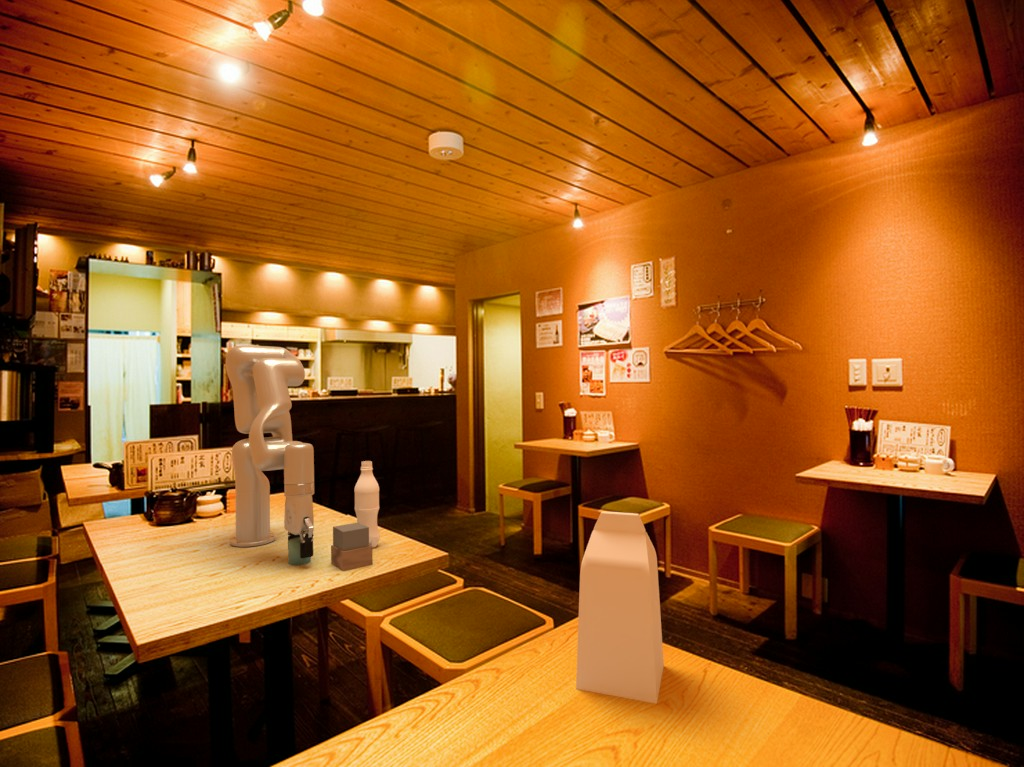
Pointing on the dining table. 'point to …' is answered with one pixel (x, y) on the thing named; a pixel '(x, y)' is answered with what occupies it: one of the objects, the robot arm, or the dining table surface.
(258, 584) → the dining table surface
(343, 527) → the tower mid
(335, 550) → the tower base
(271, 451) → the robot arm
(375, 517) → the water bottle
